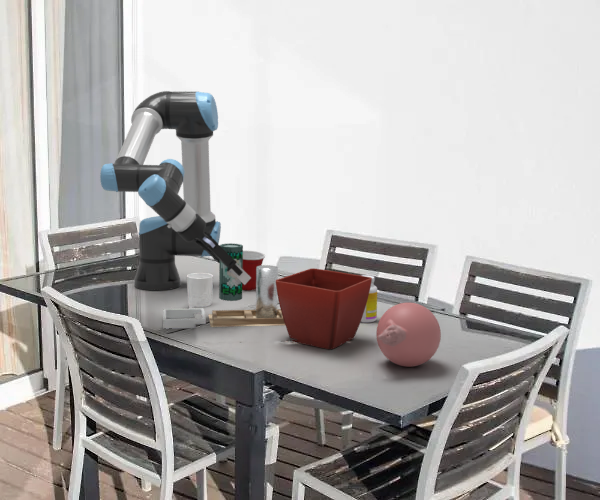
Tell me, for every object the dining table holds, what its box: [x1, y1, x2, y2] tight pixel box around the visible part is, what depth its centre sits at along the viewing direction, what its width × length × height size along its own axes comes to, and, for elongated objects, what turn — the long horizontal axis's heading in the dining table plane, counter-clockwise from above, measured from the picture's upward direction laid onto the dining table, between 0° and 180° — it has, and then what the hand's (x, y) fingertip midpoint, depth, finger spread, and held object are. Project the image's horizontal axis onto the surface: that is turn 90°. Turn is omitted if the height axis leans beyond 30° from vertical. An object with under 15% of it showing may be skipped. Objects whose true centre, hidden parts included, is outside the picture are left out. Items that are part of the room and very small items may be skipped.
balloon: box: [375, 302, 442, 368], centre depth 197 cm, size 15×20×15 cm
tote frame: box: [162, 307, 207, 330], centre depth 232 cm, size 12×12×2 cm
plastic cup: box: [242, 250, 266, 291], centre depth 273 cm, size 11×11×12 cm
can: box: [218, 242, 244, 302], centre depth 229 cm, size 6×6×15 cm
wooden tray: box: [208, 308, 286, 328], centre depth 232 cm, size 13×22×3 cm, turn 99°
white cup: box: [186, 272, 214, 309], centre depth 248 cm, size 8×8×10 cm
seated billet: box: [255, 264, 279, 318], centre depth 232 cm, size 6×6×15 cm
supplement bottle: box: [360, 274, 378, 324], centre depth 238 cm, size 7×7×13 cm
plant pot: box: [276, 268, 372, 350], centre depth 217 cm, size 19×19×17 cm
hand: (243, 278), depth 230 cm, fingers closed on can, 6 cm apart
